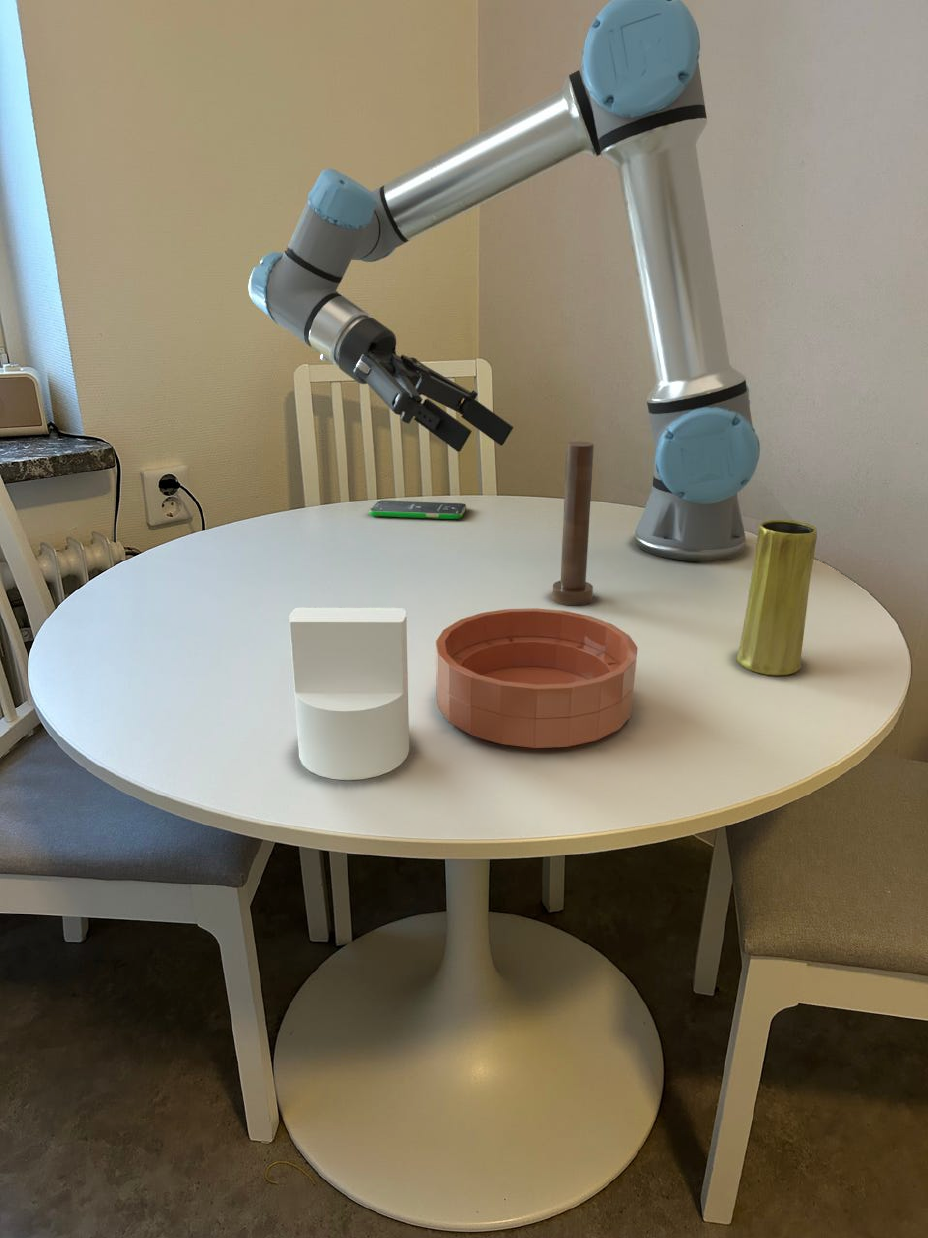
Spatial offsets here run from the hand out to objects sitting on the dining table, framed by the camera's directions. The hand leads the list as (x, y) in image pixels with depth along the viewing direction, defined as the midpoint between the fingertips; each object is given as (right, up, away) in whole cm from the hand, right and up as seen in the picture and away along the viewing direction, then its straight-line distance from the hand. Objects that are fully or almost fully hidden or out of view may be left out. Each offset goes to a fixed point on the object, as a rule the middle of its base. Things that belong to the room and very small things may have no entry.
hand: (487, 438), depth 105 cm
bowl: (+4, -29, -25) cm, 39 cm away
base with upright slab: (-12, -33, -33) cm, 48 cm away
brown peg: (+10, -19, 0) cm, 22 cm away
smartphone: (-10, -5, +37) cm, 38 cm away
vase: (+28, -26, -17) cm, 42 cm away
